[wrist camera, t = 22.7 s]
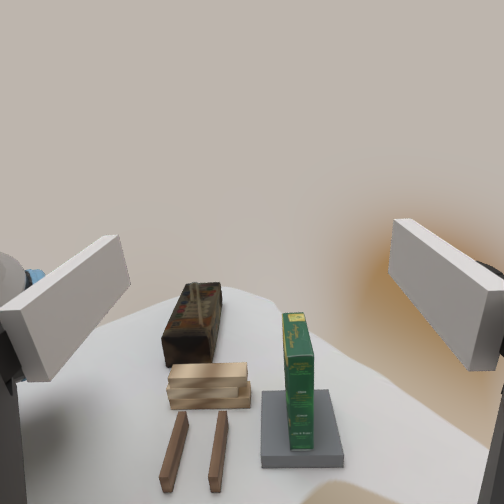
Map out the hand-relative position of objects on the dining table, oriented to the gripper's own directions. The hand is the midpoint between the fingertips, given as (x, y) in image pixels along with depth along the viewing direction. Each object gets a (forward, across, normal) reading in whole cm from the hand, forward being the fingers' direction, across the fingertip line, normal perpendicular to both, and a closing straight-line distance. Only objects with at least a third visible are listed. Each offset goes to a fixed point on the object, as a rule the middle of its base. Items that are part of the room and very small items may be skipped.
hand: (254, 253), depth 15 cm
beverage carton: (+35, -14, -30) cm, 48 cm away
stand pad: (+14, +3, -30) cm, 33 cm away
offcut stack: (+19, -9, -30) cm, 36 cm away
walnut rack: (+11, -9, -30) cm, 33 cm away
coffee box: (+14, +3, -28) cm, 31 cm away
